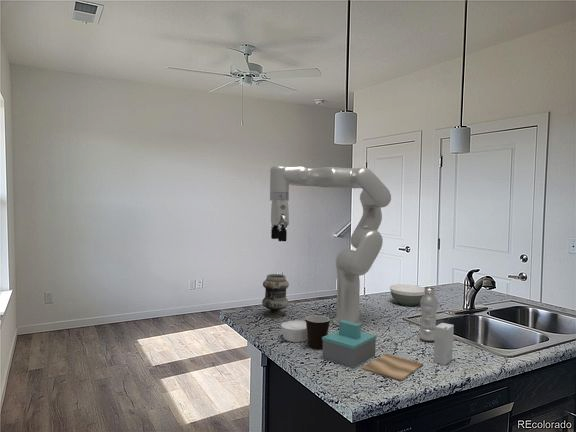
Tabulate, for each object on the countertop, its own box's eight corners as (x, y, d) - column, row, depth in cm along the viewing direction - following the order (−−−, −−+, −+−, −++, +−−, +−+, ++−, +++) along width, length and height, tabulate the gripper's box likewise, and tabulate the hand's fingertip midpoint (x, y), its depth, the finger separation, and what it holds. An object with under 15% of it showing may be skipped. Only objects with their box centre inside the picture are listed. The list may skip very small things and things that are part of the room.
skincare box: (439, 357, 141) (440, 321, 140) (453, 360, 138) (454, 324, 137) (432, 362, 136) (434, 325, 136) (446, 366, 133) (447, 328, 133)
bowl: (432, 308, 204) (432, 292, 204) (393, 308, 204) (394, 291, 204) (420, 299, 223) (420, 284, 222) (385, 299, 223) (385, 283, 223)
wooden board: (386, 355, 142) (386, 353, 142) (423, 365, 133) (423, 363, 133) (362, 369, 129) (362, 367, 129) (400, 381, 121) (401, 379, 121)
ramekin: (276, 340, 154) (276, 326, 154) (287, 332, 165) (287, 319, 164) (304, 345, 150) (305, 330, 150) (314, 336, 160) (314, 322, 160)
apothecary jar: (279, 320, 180) (280, 279, 180) (256, 315, 186) (257, 276, 186) (293, 313, 191) (293, 274, 190) (271, 309, 197) (271, 272, 196)
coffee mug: (322, 352, 143) (322, 323, 143) (300, 347, 147) (301, 319, 147) (336, 342, 153) (337, 316, 152) (316, 338, 157) (316, 312, 157)
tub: (345, 346, 149) (345, 330, 148) (375, 355, 141) (375, 338, 141) (322, 357, 138) (322, 340, 138) (353, 367, 130) (353, 349, 130)
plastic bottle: (436, 338, 160) (438, 287, 159) (437, 344, 153) (438, 290, 153) (419, 336, 162) (420, 285, 161) (418, 342, 155) (420, 289, 155)
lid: (345, 332, 149) (345, 315, 149) (376, 340, 141) (377, 322, 140) (321, 342, 138) (322, 323, 138) (354, 351, 130) (354, 332, 130)
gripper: (295, 197, 158) (294, 242, 159) (281, 197, 174) (281, 237, 175) (276, 197, 156) (275, 242, 156) (264, 196, 172) (264, 238, 173)
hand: (278, 239), depth 166 cm, fingers open, 9 cm apart
